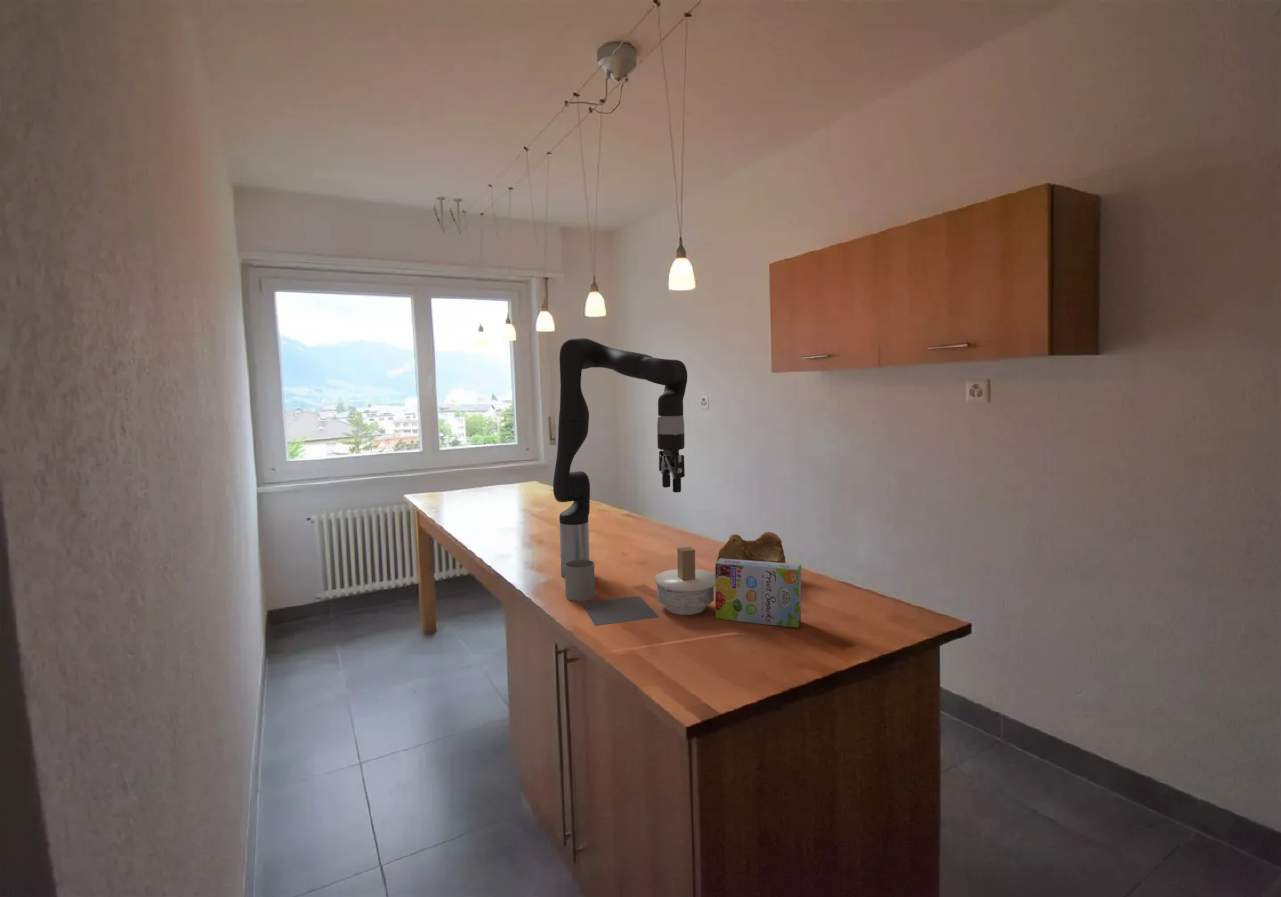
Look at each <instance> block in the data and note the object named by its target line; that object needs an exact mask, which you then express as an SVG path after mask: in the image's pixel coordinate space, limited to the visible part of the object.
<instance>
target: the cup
mask: <svg viewBox="0 0 1281 897" xmlns="http://www.w3.org/2000/svg"><path fill="white" fill-rule="evenodd" d="M595 580H596V578H595V562H594V560H590V559H589V560H584V559H583V560H572V561H568V562H566V563H565V577H564V584H565V585H564V587H565V588H564V589H565V598H566V599H567V600H569V601H574V602H580V601H581V602H582V601H583V602H584V601H589V600H592V599H594V597H595V596H596V588H595V587H596V585H595V584H596V582H595Z"/></svg>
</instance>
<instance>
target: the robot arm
mask: <svg viewBox="0 0 1281 897" xmlns="http://www.w3.org/2000/svg"><path fill="white" fill-rule="evenodd" d="M589 368H590V369H591V368H600V369H601V368H602V369H603V368H605V369H610V370H611V371H612V370H613V371H614V372H616V373H618V374H620V375H622V376H626V377H629V378H632V379H633V378H634V379H639V380H645V381H648V382H651V383H653V384H656V385H660V386H664V389H663V393H662V394H661V395H659V397H658V399H657V422H656V423H657V426H656V427H657V428H656V429H657V431H656V434H657V437H656V438H657V448H658V450H659V451H658V472H660V474H661V477H662V479H661V482H662V483H661V484H662V485H661V486H662V487H663V488H665V489H667V488H671V477H672V492H673V493H676V494H677V493H681V492H682V479H683V478H684V477H685V476H686V474H685V473H686V472H685V471H686V470H685V455H684V454H680V452H679V451H680V450H684V449H685V448H686V447H685V442H686V441H685V420H684V419H685V418H684V399H685V398H684V397H685V393H686V390H687V389H686V388H687V383H688V370H687V367H686V365H685V363H684V362H682V361H681V360H679V359H668V358H667V359H666V358H659V357H653V356H652V355H648V354H645V353H639V352H636V351H634V352H633V351H629V350H623V349H617V348H613V347H609V346H606V345H604V344H602V343H599V342H597V341H595V340H592V339H589V338H584V337H583V338H569V339H567V340H565V341H563V343H562V345H561V346H560V350H559V375H560V376H559V377H560V379H559V382H560V389H559V390H560V393H559V394H560V395H559V396H560V397H559V414H558V424H557V425H558V426H557V427H558V430H557V434H558V435H557V452H556V460H555V467H554V473H553V482H552V492H553V496H554V499H555V500H556V501H557V502H558V503H569V502H572V504H571V505H570V506H569V507H568V508H567V509H565V510H563V511H562V512H560V514H559V543H560V544H559V546H560V547H559V548H560V575H561V576H562V577H564V578H565V563H566V562H568V561H572V560H583V559H584V560H590V532H589V531H590V528H589V525H590V524H589V516H590V509H591V508H590V507H591V505H590V503H591V501H590V499H591V484H590V478H589V476H588V474H587V473H586V472H585V471H582V470H581V471H580V470H579V471H571V467H572V463H573V460H574V458H575V456H576V455H577V453H578V452H579V450H580V448H581V447H582V446H583V444H584V442H585V440H586V438H587V437H588V434H589V422H590V411H589V407H588V404H587V401H586V399H585V397H584V395H583V394H584V393H583V390H582V372H583V370H587V369H589Z"/></svg>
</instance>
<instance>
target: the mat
mask: <svg viewBox="0 0 1281 897" xmlns="http://www.w3.org/2000/svg"><path fill="white" fill-rule="evenodd" d="M580 604H581V606H582V607H583V608H584V610H585V612H586V614H587V615H588V617H589V619H590V620H591V622H592V623H593V625H594V626H596V627H597V626H603V625H612V624H617V623H619V624H620V623H625V622H635V621H641V620H649V619H654V618H655V619H656V618H659V617H660V616H659V615H658V614H657V613H656V612H655V610H654V609H652V608H651V607H650V605H649V604H647V602H646V601H645V600H644V599H643V597H642V596H640V595H637V596H628V597H618V598H609V599H604V600H597V601H596V600H595V601H587V602H586V601H585V602H581V603H580Z"/></svg>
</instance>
